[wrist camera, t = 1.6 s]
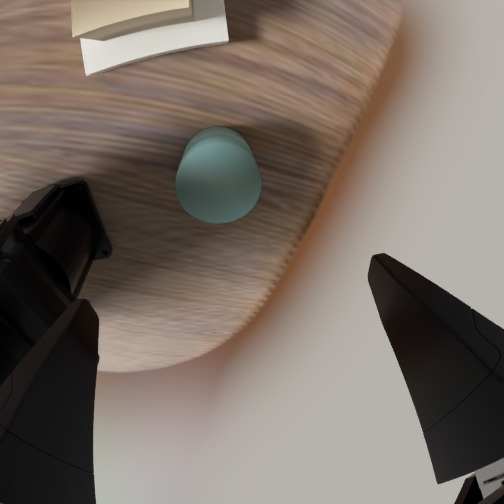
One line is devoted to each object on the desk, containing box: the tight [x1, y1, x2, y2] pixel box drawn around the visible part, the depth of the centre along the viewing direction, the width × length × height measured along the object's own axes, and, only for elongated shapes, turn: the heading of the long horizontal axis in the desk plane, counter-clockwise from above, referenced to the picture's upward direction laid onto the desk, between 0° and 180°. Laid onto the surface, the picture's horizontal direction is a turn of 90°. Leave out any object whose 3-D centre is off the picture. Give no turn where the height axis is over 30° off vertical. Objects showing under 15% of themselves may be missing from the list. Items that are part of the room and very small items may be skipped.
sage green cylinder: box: [175, 126, 262, 224], centre depth 16 cm, size 4×4×4 cm
